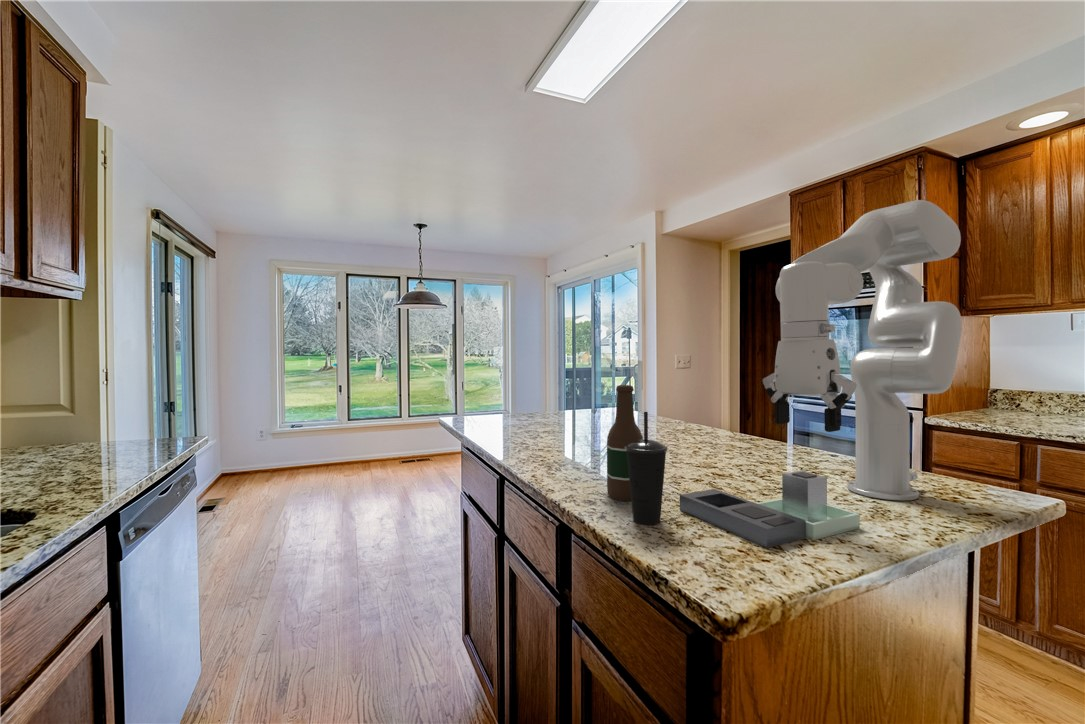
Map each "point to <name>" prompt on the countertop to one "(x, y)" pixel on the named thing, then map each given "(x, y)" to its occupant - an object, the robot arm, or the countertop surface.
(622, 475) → the beer bottle
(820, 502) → the block
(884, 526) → the countertop surface
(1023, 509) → the countertop surface
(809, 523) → the parts tray
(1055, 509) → the countertop surface
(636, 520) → the drinking cup
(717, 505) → the grey slotted block
